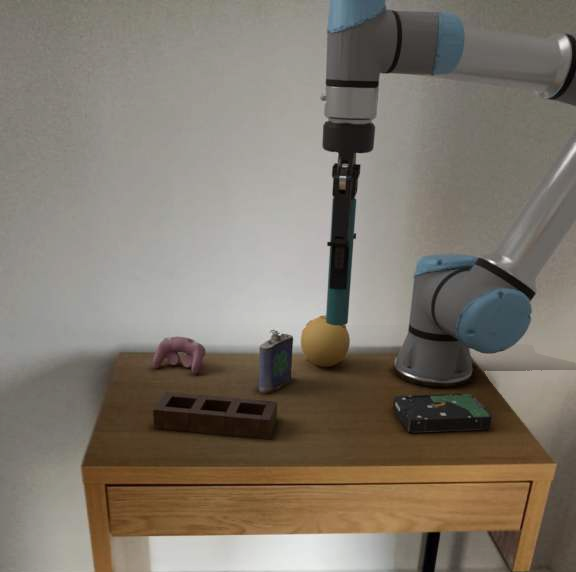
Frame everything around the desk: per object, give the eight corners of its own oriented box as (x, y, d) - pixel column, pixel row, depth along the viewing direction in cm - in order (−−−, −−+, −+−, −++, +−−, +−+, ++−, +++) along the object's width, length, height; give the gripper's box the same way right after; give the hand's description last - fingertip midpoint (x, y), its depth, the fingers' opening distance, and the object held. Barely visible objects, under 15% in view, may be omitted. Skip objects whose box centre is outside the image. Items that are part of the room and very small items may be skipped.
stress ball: (353, 372, 150) (357, 323, 144) (305, 375, 148) (307, 325, 143) (340, 355, 158) (344, 308, 153) (295, 357, 156) (296, 309, 151)
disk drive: (408, 435, 127) (491, 430, 129) (410, 420, 125) (494, 415, 127) (391, 409, 135) (469, 405, 137) (392, 395, 134) (471, 391, 136)
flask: (266, 395, 139) (267, 338, 133) (254, 391, 140) (254, 335, 135) (294, 380, 145) (296, 326, 140) (281, 376, 147) (283, 323, 141)
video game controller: (204, 377, 149) (209, 341, 149) (195, 374, 145) (201, 338, 144) (159, 370, 152) (164, 335, 151) (149, 367, 147) (154, 331, 147)
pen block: (276, 420, 130) (277, 401, 128) (269, 439, 123) (269, 420, 122) (166, 410, 132) (165, 391, 130) (154, 428, 125) (152, 409, 124)
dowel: (348, 319, 125) (357, 197, 115) (346, 326, 122) (355, 201, 112) (327, 317, 125) (333, 196, 115) (324, 324, 122) (331, 200, 112)
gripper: (329, 115, 115) (321, 270, 128) (317, 124, 101) (309, 297, 114) (378, 117, 114) (365, 273, 127) (372, 127, 100) (359, 301, 113)
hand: (339, 284), depth 120 cm, fingers closed on dowel, 4 cm apart
